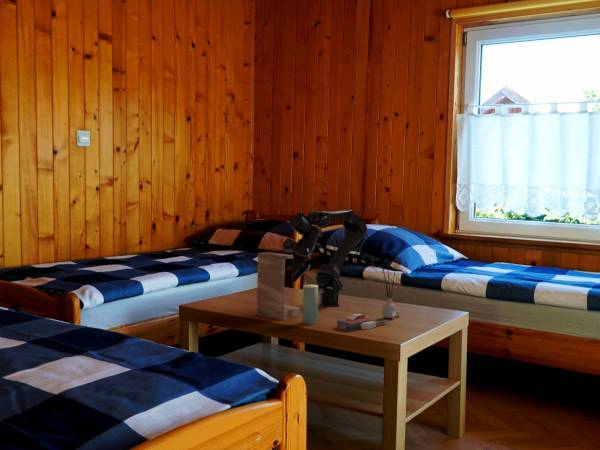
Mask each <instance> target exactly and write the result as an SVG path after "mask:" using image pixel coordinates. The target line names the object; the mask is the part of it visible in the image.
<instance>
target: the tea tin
mask: <svg viewBox="0 0 600 450" xmlns="http://www.w3.org/2000/svg"><path fill="white" fill-rule="evenodd" d="M302 286H303V291H302V293H303V297H302V299H303V300H302V324H303V325H307V326H308V325H309V326H314V325H317V324H318V309H319V307H318V305H319V304H318V302H319V300H318V299H319V289H318V285H317V284H303V285H302Z"/></svg>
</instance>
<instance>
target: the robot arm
mask: <svg viewBox="0 0 600 450" xmlns="http://www.w3.org/2000/svg"><path fill="white" fill-rule="evenodd" d="M340 221H341V222H342V226H343V227H344V230H343V233H344V237H343V239H342V240H341V242H340V243H339V245H338V246H337V249H336V251H335V252H334V254H333V256H332V257H331V259H330V261H329V262H328V263H327V264H324V263H323V264H321V265H320V267H319V269H318V270H317V271H316V275H315V281H316V285H318V290H320V293H319V304H320V305H321V306H323V307H339V306H340V305H341V304H339V292H341V291H342V290H343V287H344V284H343V283H342V282H341V280H340V278H341V273H340V272H341V271H340V270H341V269H342V266H343V265H344V263H345V262H346V259H347V257H348V256H349V254H350V253H351V251H352V249H353V247H354V245H355V243H357V242H359V241H360V240H362V239H363V238H364V236H365V235H366V234H367V231H368V226H367V224H366V222H365V221H364V219H362V217H360V216H358V215H357V214H356V212H355V211H354V210H352V209H343V210H333V211H324V210H310V211H309V212H308V214H307V215H305V214H304V213H303V212H299V211H298V212H297V214H296V215H294V216H292V218H291V219H290V220H289V226H290V228H291V229H293V230H294V231H295V232H296V233H297V234H298V235H300V236H301V237H300V238H299V239H298V240H297V241H295V240H293V239H292V238H291V237H286V238H285V240H283V241H282V254H287V255H288V254H291V255H293V258H292V259H293V261H292V267H291V273H290V274H291V276H292V281H291V282H293V283H296V282H297V281H298V280H299V279H300V278H301V276H303V275H304V274H305V273H306V272H308V271H309V270H310V268H311V263H310V260H311V256H312V253H313V251H314V250H315V245H316V243H317V240H318V238H319V236H320V237H321V236H322V237H323V236H324V234H323V231H322V228H319V227H325V226H326V227H327V225H330V224H331V223H333V222H340Z"/></svg>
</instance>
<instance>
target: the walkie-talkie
mask: <svg viewBox="0 0 600 450" xmlns="http://www.w3.org/2000/svg"><path fill="white" fill-rule="evenodd" d="M384 323H389V320H388V319H385V320H379V321H373V320H372V319H371V318H369V317H366V315H365V313H364V314H363V313H354V314H351V315H350V316H346V318H343V319H339V320H337V321H336V328H337V329H339V330H344V331H348V332H352V331H357V330H370V328H371V329H375V328H374V327H376V328H377V326H379V325H384Z"/></svg>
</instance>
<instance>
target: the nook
mask: <svg viewBox="0 0 600 450" xmlns="http://www.w3.org/2000/svg"><path fill="white" fill-rule="evenodd" d="M288 259H293V255H292V254H288V253H287V254H285V253H279V252H271V251H266V252H258V253H257V281H256V282H257V283H256V284H257V286H256V289H257V291H256V294H257V295H256V316H260V317H264V318H268V319H273V320H278V321H284V320H290V319H294V318H298V317H303V307H300V306H295V305H290V304H286V303H285V279H286V277H285V273H286V272H285V271H286V270H285V268H286V260H288Z"/></svg>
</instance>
